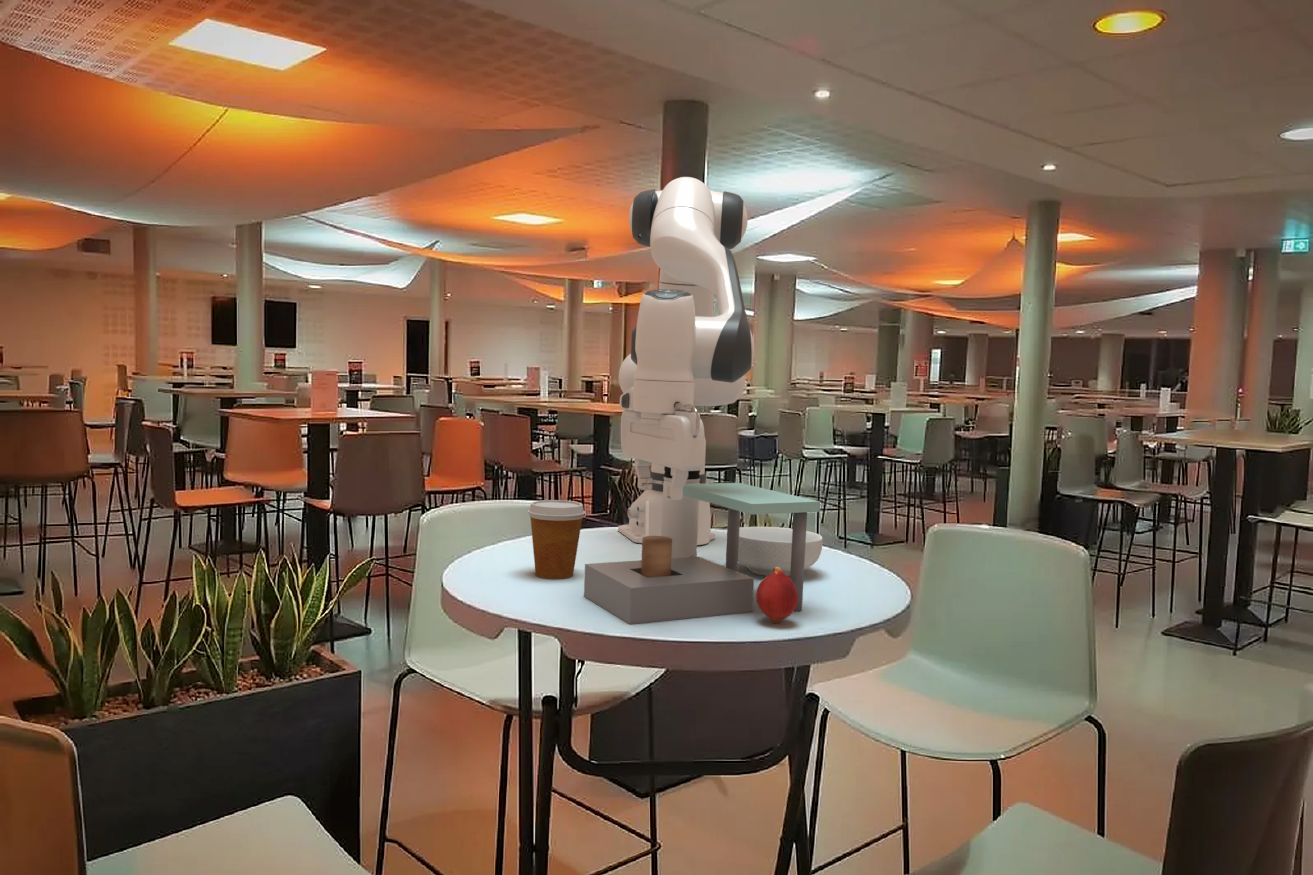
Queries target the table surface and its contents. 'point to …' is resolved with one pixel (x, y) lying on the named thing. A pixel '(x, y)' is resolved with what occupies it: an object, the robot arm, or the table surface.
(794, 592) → the onion
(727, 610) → the socket block
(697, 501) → the travel mug
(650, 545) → the walnut peg
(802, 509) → the awning
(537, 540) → the disposable coffee cup
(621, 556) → the table surface
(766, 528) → the cereal bowl
